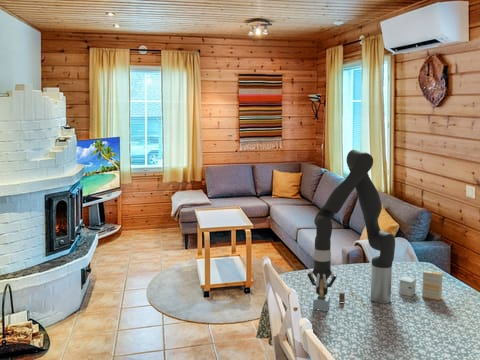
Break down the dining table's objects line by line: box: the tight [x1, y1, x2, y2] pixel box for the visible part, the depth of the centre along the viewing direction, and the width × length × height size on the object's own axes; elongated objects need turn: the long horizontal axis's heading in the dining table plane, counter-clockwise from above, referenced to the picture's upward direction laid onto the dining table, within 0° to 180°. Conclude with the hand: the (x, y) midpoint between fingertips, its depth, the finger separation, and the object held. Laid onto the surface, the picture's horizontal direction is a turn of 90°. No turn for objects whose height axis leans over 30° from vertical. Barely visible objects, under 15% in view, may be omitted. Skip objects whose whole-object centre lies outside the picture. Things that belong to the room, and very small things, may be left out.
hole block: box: [312, 293, 331, 311], centre depth 204 cm, size 6×6×5 cm
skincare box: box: [398, 276, 417, 297], centre depth 219 cm, size 6×6×7 cm
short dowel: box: [338, 291, 346, 303], centre depth 210 cm, size 2×2×4 cm
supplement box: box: [421, 268, 444, 301], centre depth 213 cm, size 8×5×13 cm, turn 58°
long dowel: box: [319, 279, 324, 300], centre depth 203 cm, size 2×2×10 cm
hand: (321, 294), depth 203 cm, fingers closed on long dowel, 2 cm apart
